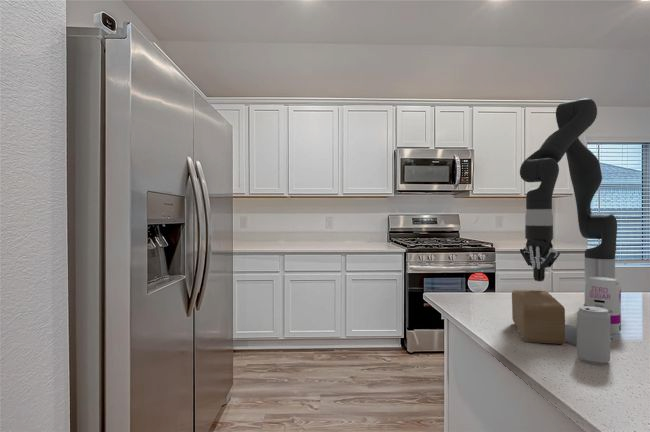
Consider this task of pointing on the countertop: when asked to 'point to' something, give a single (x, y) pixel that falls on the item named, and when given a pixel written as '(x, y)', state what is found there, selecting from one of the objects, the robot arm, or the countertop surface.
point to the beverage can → (593, 335)
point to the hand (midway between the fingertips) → (538, 280)
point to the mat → (571, 335)
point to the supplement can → (606, 299)
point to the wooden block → (538, 316)
